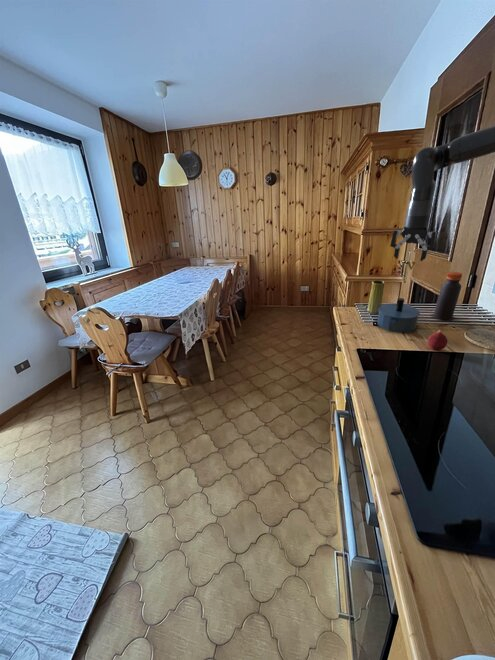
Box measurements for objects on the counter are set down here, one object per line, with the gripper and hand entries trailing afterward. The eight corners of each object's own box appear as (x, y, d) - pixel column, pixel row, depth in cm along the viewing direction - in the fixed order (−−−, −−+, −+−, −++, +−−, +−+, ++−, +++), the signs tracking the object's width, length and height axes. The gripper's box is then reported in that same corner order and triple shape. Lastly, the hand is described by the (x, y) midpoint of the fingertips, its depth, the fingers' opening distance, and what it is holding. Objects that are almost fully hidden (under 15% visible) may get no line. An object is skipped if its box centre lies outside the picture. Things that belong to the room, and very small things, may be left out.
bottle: (434, 313, 128) (446, 270, 119) (452, 317, 124) (466, 272, 115) (432, 319, 123) (443, 274, 114) (450, 322, 119) (464, 276, 110)
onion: (448, 354, 99) (454, 334, 95) (431, 355, 99) (436, 335, 95) (438, 346, 104) (444, 326, 100) (422, 346, 104) (427, 327, 100)
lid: (422, 309, 118) (425, 296, 116) (415, 323, 108) (418, 309, 105) (383, 303, 127) (385, 290, 124) (373, 315, 116) (376, 301, 114)
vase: (378, 308, 137) (383, 279, 130) (382, 313, 131) (387, 283, 125) (365, 308, 138) (369, 280, 131) (369, 313, 132) (373, 284, 126)
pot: (419, 320, 123) (422, 306, 120) (409, 339, 109) (413, 324, 106) (384, 313, 131) (386, 300, 128) (371, 330, 117) (373, 316, 114)
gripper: (393, 214, 101) (386, 259, 109) (440, 215, 93) (429, 263, 101) (398, 212, 107) (391, 255, 114) (443, 212, 99) (432, 259, 106)
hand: (409, 259), depth 107 cm, fingers open, 8 cm apart
